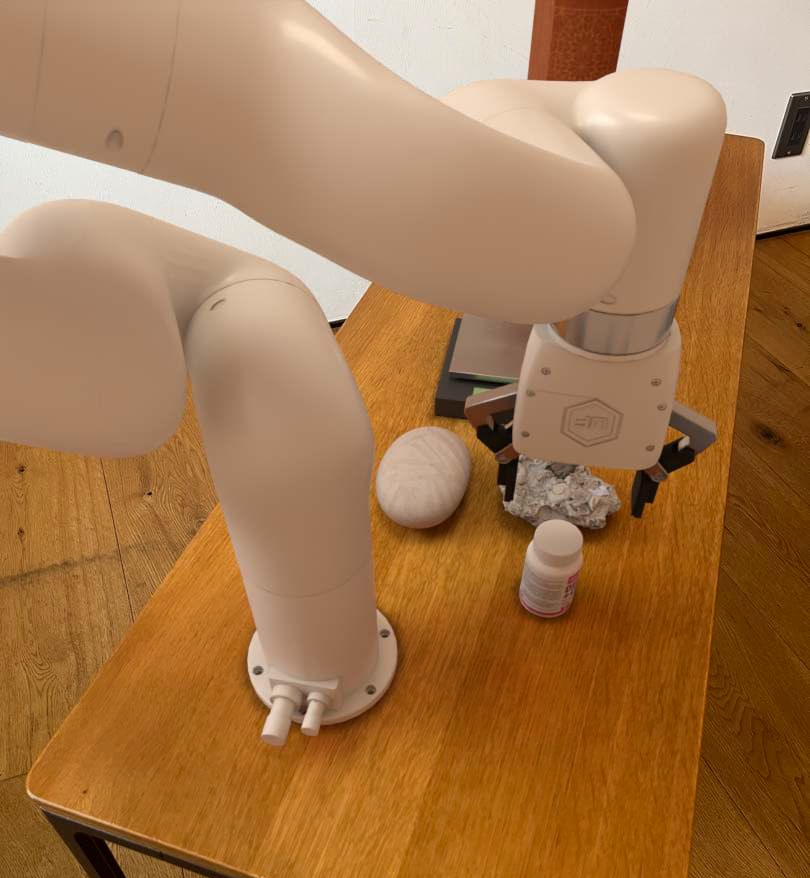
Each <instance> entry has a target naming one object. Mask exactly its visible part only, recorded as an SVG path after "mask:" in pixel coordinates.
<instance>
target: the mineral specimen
mask: <svg viewBox="0 0 810 878" xmlns="http://www.w3.org/2000/svg"><path fill="white" fill-rule="evenodd" d="M499 489H500V493H502V496H503V497H502V499H503V501H502V504H503V507H504V510H505V512H507V513H510V514H511V516H512V515H513V516H514V517H518V518H519V517H520V518H521V519H522V520H526V522H527V523H530V524H531V526H533V527H535V528H537V527H538V526H539V525H540V524H542V523H543V522H546V521H548V520H564V521H567V522H570V523H572V524H573V525H575V526H576V527H578V526H582V527H583V528H589V529H590V530H593V529H594V530H598V529H603V528H604V527H605V526H606V525H607V522H606V521H607V519H606V516H609V515H612V514H613V513H614V512H616V511H619V510H620V509H622V504H623V503H622V501H621V500H620V498H619V496H618V494H617V491H616V489H615V486H614V485H613V484H609V483H607V482H605V480H602V478H601V477H596V476H594V474H593V472H592V471H591V470H590V468H589V467H588V466H585V465H576V464H568V463H560V462H552V461H544V460H538V459H532V458H529V457H526V456H523V455H520V456H519V462H518V470H517V478H516V485H515V492H514V499H513V501H511V502H504V495H505V486H503V485H499Z"/></svg>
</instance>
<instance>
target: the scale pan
mask: <svg viewBox="0 0 810 878" xmlns="http://www.w3.org/2000/svg"><path fill="white" fill-rule="evenodd" d="M461 318H462V321H461V325H460V329H459V333H458V337H457V341H456V345H455V349H454V353H453V357H452V361H451V365H450V368H449V377H455V378H464V379H472V380H481V381H489V382H498V383H507V384H512V383H516V382H519V380H520V374H521V368H522V364H523V360H524V356H525V352H526V347H527V343H528V340H529V337H530V334H531V331H532V328H533V326H534V324H515V323H508V322H501V321H496V320H491V319H487V318H482V317H478V316H474V315H470V314H466V313H462V317H461Z"/></svg>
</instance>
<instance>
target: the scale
mask: <svg viewBox="0 0 810 878" xmlns="http://www.w3.org/2000/svg"><path fill="white" fill-rule="evenodd" d="M461 321H462V317H455V319H454V324H453V327H452V331H451V335H450V339H449V342H448V346H447V350H446V354H445V358H444V361H443V364H442V365H443V366H442V369H441V373H440V376H439V381H438V385H437V388H436V392H435V394H434V395H435V397H434V416H439V417H448V418H455V419H462V420H468V419H467V417H466V415H465V414H464V408H465V404H466V399H467V398H468V397H469V396H471V395H475V394H478V393H481V392H485V391H488V390H492V389H495V388H498V387H502V386H505V385H509V384H507V383H498V382H489V381H481V380H472V379H464V378H455V377H449V368H450V365H451V361H452V357H453V353H454V349H455V345H456V341H457V337H458V333H459V329H460V325H461ZM514 411H515V408H513V409H509V410H506V411H502V412H498V413H495V414H491V416H493V417H494V418H495V419H496V420H497V421H498V422H499V423H500V424H502V425H504V424H505V425H507V424H509V423H510V422H511V421H513V419H514Z"/></svg>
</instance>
